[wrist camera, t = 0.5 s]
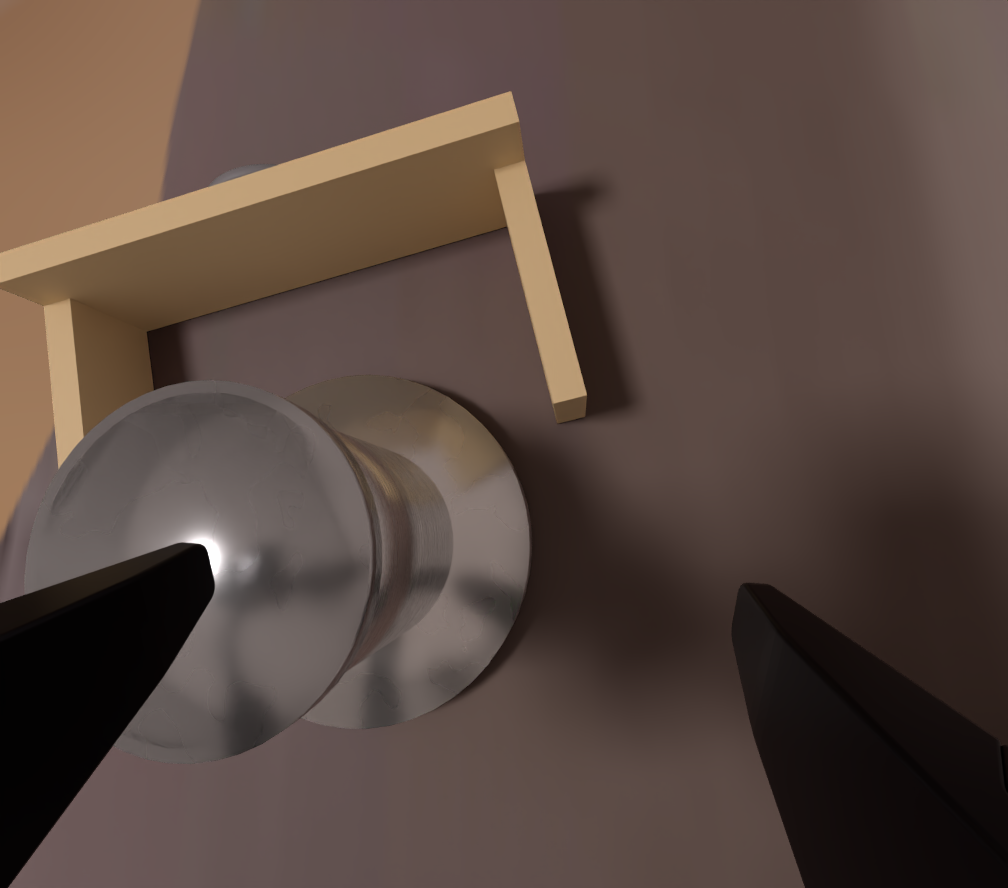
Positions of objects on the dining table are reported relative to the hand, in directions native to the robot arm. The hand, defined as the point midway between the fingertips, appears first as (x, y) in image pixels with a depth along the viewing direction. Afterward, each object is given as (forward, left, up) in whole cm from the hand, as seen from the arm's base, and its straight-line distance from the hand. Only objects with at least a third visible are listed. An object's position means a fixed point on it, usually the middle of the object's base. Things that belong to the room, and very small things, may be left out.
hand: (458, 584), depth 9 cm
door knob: (+2, +7, -14) cm, 15 cm away
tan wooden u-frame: (+11, +7, -13) cm, 18 cm away
